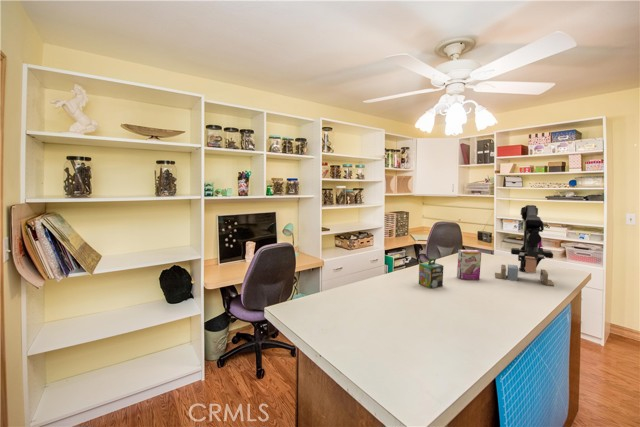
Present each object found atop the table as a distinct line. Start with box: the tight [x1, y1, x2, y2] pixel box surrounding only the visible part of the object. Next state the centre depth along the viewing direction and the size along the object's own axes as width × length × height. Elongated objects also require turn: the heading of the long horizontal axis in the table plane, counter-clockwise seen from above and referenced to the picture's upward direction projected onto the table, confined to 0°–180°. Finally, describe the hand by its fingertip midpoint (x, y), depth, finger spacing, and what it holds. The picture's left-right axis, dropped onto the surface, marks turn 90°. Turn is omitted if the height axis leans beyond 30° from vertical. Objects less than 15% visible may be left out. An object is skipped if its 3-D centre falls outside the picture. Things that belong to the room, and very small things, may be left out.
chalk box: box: [418, 258, 444, 289], centre depth 157 cm, size 9×9×15 cm
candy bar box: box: [456, 249, 482, 281], centre depth 167 cm, size 11×5×16 cm, turn 84°
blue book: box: [506, 264, 519, 282], centre depth 167 cm, size 8×4×7 cm, turn 149°
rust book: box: [524, 256, 537, 274], centre depth 163 cm, size 8×4×7 cm, turn 149°
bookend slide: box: [539, 268, 555, 287], centre depth 159 cm, size 10×5×6 cm, turn 149°
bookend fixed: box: [494, 264, 507, 280], centre depth 170 cm, size 10×5×6 cm, turn 149°
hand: (530, 267), depth 163 cm, fingers closed on rust book, 4 cm apart
